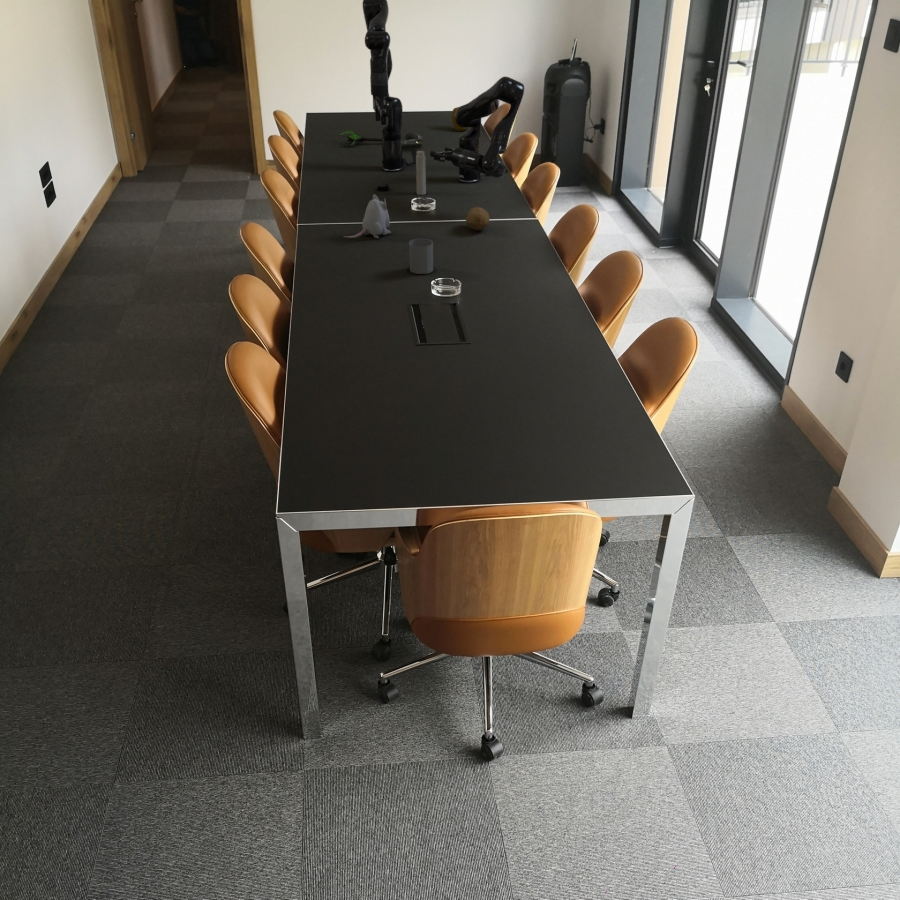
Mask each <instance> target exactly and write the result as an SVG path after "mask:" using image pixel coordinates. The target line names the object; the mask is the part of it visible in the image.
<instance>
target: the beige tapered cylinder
mask: <svg viewBox="0 0 900 900" xmlns="http://www.w3.org/2000/svg"><path fill="white" fill-rule="evenodd" d="M426 158H427V157H426V154H425V150H417V151H416V155H415V160H416V163H415V177H416V178H415V179H416V180H415V181H416V182H415V184H416V186H415V187H416V195H419V196H422V195H423V196H424V195H426V194H427V165H426V163H427V159H426Z"/></svg>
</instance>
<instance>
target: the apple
mask: <svg viewBox="0 0 900 900" xmlns="http://www.w3.org/2000/svg"><path fill="white" fill-rule="evenodd" d="M459 107H460V106H457V107H454V108H452V111H451V121H452V125H453V128H454V129H455V131H457V132H463V131H466V130H468V129H469V127H466V128H463V127H460V126H458V125H457V123H456V121H455V113H456V111H457V109H458V108H459Z"/></svg>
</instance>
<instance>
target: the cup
mask: <svg viewBox="0 0 900 900" xmlns="http://www.w3.org/2000/svg"><path fill="white" fill-rule="evenodd" d="M408 253H409V272H411V273H412V274H416V275H426V274H430V273H432V272H434V241H433V240H431V239H428V238H422V237H421V238H420V237H419V238H414V239H411V240H410V241H409V242H408Z"/></svg>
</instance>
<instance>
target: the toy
mask: <svg viewBox="0 0 900 900" xmlns="http://www.w3.org/2000/svg"><path fill="white" fill-rule="evenodd" d="M383 200H384V201H383ZM383 200H380V199H379V197H378V196H377V195H376V193H373V194H372V199H370V200H369V202H368V203H367V206H366V207H365V208H366V209H365V213H364V215H363V219H362V223H361V225H362V230H361V231H359V232H358V233H356V234H354V235H348V236H347V235H343V238H348V239H356V238H358V237H360V236H363V235H365V236H368V235H372V236H373V238H374V239H380V237H379V236H380V235H382V236H386V235H391V234H392V231H391V230H389V227H390V225H391V222H390V221H391V220H390V216H389V211H388V207H387V200H386V198H384V199H383Z"/></svg>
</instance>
